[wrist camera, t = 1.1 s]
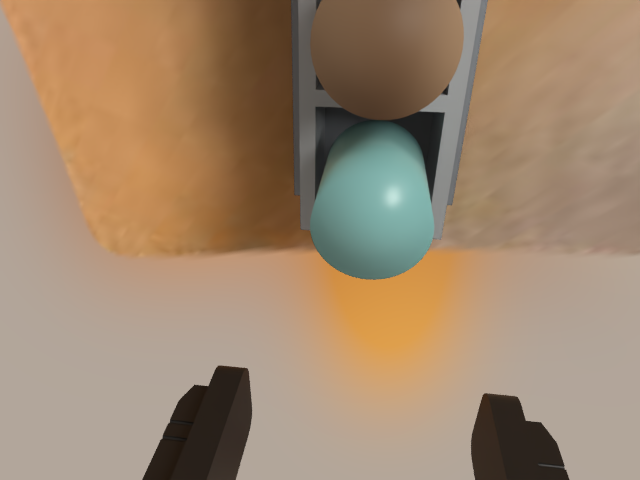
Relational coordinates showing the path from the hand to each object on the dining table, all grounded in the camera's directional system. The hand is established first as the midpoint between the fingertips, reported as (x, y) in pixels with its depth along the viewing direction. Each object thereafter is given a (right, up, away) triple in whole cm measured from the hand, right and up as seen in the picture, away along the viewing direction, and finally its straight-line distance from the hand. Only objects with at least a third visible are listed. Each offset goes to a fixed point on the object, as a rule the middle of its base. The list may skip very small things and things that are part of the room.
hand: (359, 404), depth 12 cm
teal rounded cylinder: (+2, +8, +13) cm, 15 cm away
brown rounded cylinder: (+2, +14, +9) cm, 17 cm away
